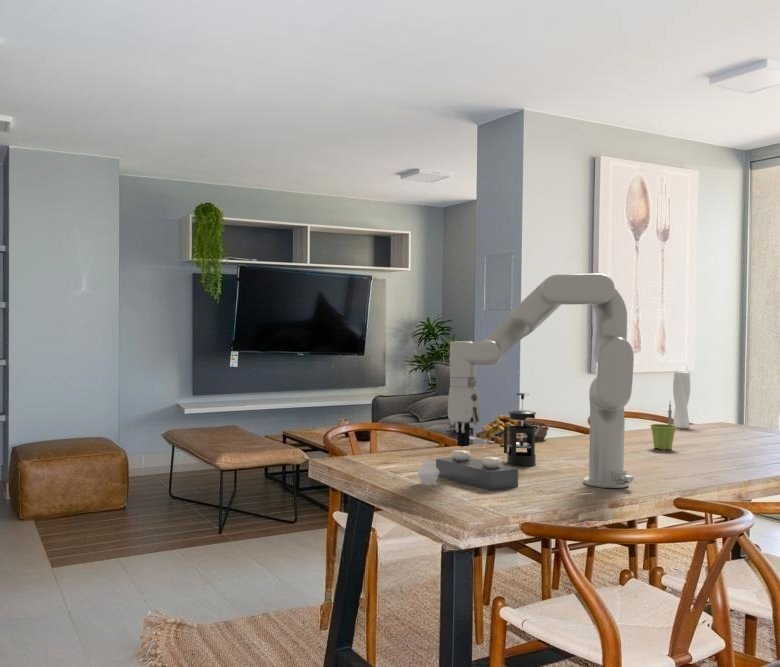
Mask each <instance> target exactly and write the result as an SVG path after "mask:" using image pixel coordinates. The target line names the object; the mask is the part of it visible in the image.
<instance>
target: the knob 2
mask: <svg viewBox="0 0 780 667" xmlns="http://www.w3.org/2000/svg"><path fill="white" fill-rule="evenodd" d="M481 460H482V466H486V467H487V468H489V469H495V468H496V467H500V466H501V465H502V458H501V457H498V456H483V457H482V458H481Z"/></svg>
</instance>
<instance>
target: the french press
mask: <svg viewBox="0 0 780 667" xmlns="http://www.w3.org/2000/svg"><path fill="white" fill-rule="evenodd" d="M515 395H516V396H520V400H521V410H517V409H516V410H509V411H508V414H509V416H510V419H513V420H515V421H517V420H522V422H521V426H505V427H504V444H503V445H504V447H503V453H504V454H507V457H506V458H507V461H506V465H508V466H510V467H519V468H532V467H535V466H537V463H536V458H537V457H536V456H537V455H536V454H535V450H536V448H535V447H536V444H535V443H536V441H535V432H536V427H532V426H523V420H527V419H532V420H533V419H535V418H536V415H537V412H536V411H530V410H524V399H525V396H529V395H530V394H529V393H525V392H517V393H516V394H515ZM508 431H509V444H508ZM516 433H521V441H520V442H519V443H516ZM522 433H527V442H523V441H522ZM517 449H526V451H517Z"/></svg>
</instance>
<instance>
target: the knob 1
mask: <svg viewBox="0 0 780 667" xmlns="http://www.w3.org/2000/svg"><path fill="white" fill-rule="evenodd" d="M451 455H452V456H451V457H452V459H456V460H457V461H459V462H463V461H466V460H469V459H470V458H471V451H470V450H463V449H457V450H455V449H454V450H452V452H451Z"/></svg>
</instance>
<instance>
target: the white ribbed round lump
mask: <svg viewBox="0 0 780 667" xmlns="http://www.w3.org/2000/svg"><path fill="white" fill-rule="evenodd" d="M439 473H440V471H439V470H438V468H437V467H436V461H434V460H432V459H426V460H424V461H423V462H422V464H421V466H420V467H419V468H418V469H417V474H418V478H419V481H420V482H421V484H422V485H423V486H426V487H427V486H434V485H435V484H436V481H437V480H438V478H439V476H438V475H439Z"/></svg>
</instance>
